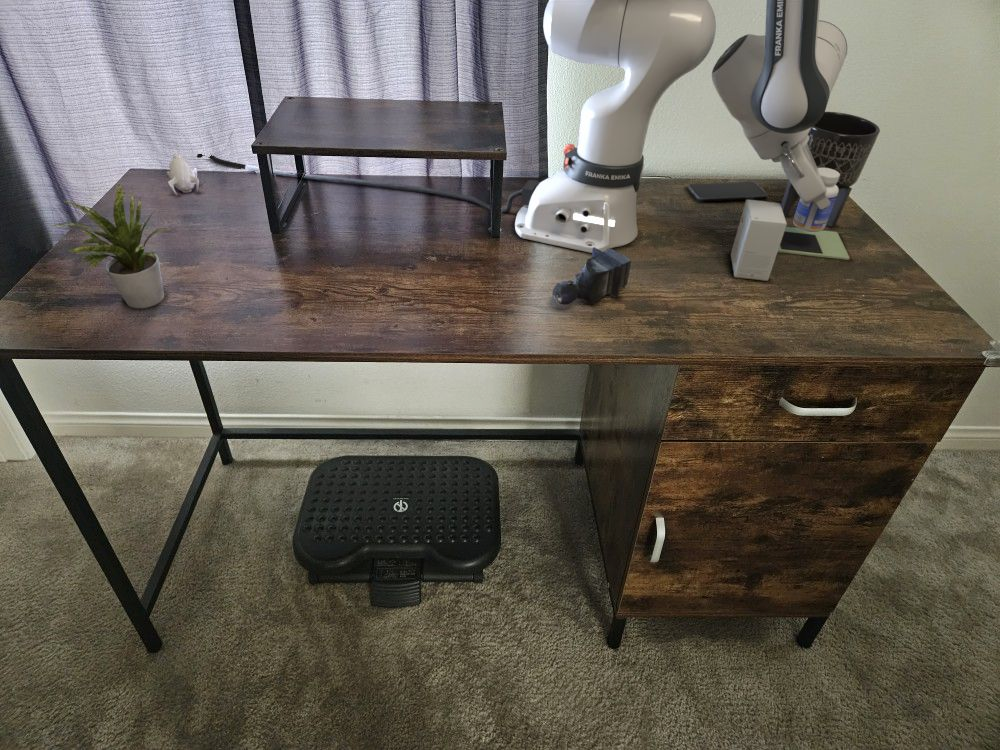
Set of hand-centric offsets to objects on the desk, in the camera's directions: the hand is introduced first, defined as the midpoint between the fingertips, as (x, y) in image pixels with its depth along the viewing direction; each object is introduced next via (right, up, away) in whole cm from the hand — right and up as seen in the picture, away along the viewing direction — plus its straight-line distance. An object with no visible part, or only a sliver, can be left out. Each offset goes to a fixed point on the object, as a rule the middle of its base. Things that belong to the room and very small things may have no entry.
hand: (821, 197), depth 110 cm
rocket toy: (-116, +5, +16) cm, 117 cm away
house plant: (-109, -18, -12) cm, 111 cm away
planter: (+6, +1, +17) cm, 18 cm away
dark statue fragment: (-41, -18, -8) cm, 45 cm away
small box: (-12, -12, 0) cm, 17 cm away
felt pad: (0, -6, +8) cm, 10 cm away
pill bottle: (-1, -4, +4) cm, 6 cm away
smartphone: (-8, +7, +23) cm, 25 cm away
